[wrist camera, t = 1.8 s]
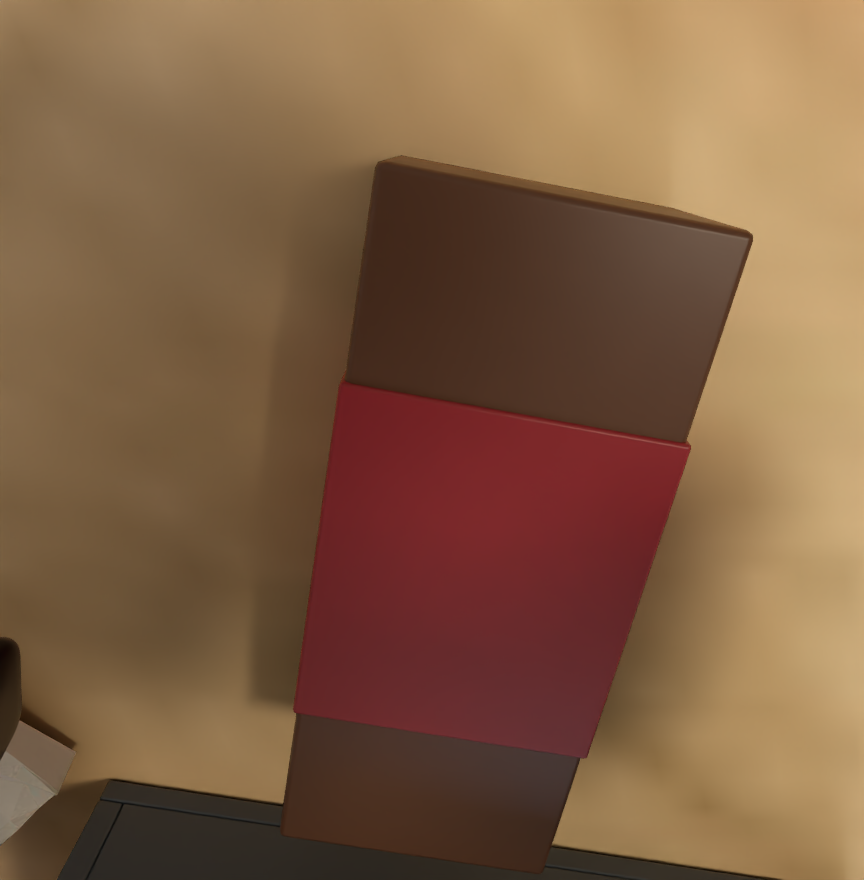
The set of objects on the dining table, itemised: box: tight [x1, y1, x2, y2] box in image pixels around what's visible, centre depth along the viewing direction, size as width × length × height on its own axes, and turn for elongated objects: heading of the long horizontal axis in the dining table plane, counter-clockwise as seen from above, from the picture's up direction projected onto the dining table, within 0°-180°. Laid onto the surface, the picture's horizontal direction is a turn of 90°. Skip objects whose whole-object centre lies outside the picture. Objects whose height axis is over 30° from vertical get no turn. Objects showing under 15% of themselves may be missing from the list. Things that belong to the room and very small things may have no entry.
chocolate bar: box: [280, 155, 753, 874], centre depth 11 cm, size 4×10×3 cm, turn 170°
